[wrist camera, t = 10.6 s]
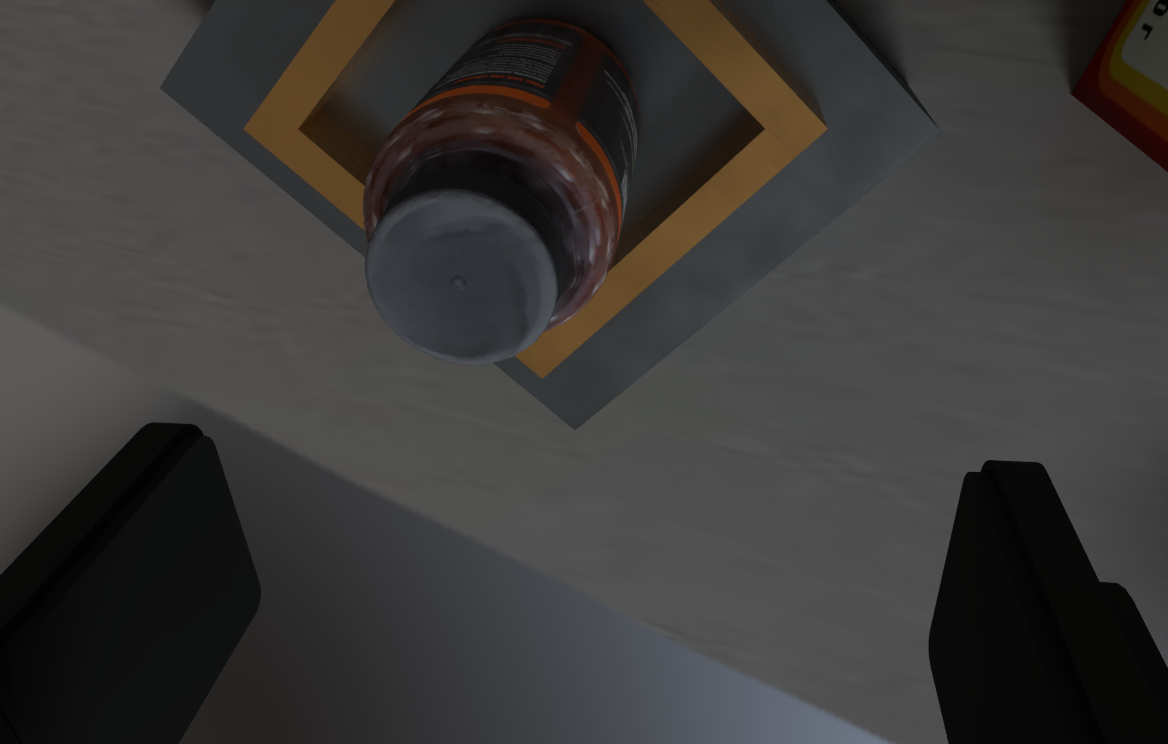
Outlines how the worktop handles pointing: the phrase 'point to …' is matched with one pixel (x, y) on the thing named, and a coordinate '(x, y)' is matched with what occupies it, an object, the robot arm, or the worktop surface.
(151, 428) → the robot arm
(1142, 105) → the baking soda box
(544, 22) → the supplement bottle
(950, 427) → the worktop surface
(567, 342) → the grey orange open tray
